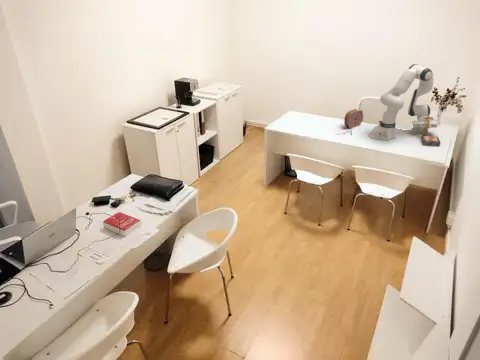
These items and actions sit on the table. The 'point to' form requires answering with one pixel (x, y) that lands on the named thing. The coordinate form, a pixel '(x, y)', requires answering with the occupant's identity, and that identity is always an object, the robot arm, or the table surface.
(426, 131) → the eyeglasses stand
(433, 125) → the robot arm
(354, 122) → the face sculpture
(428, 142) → the display plinth
